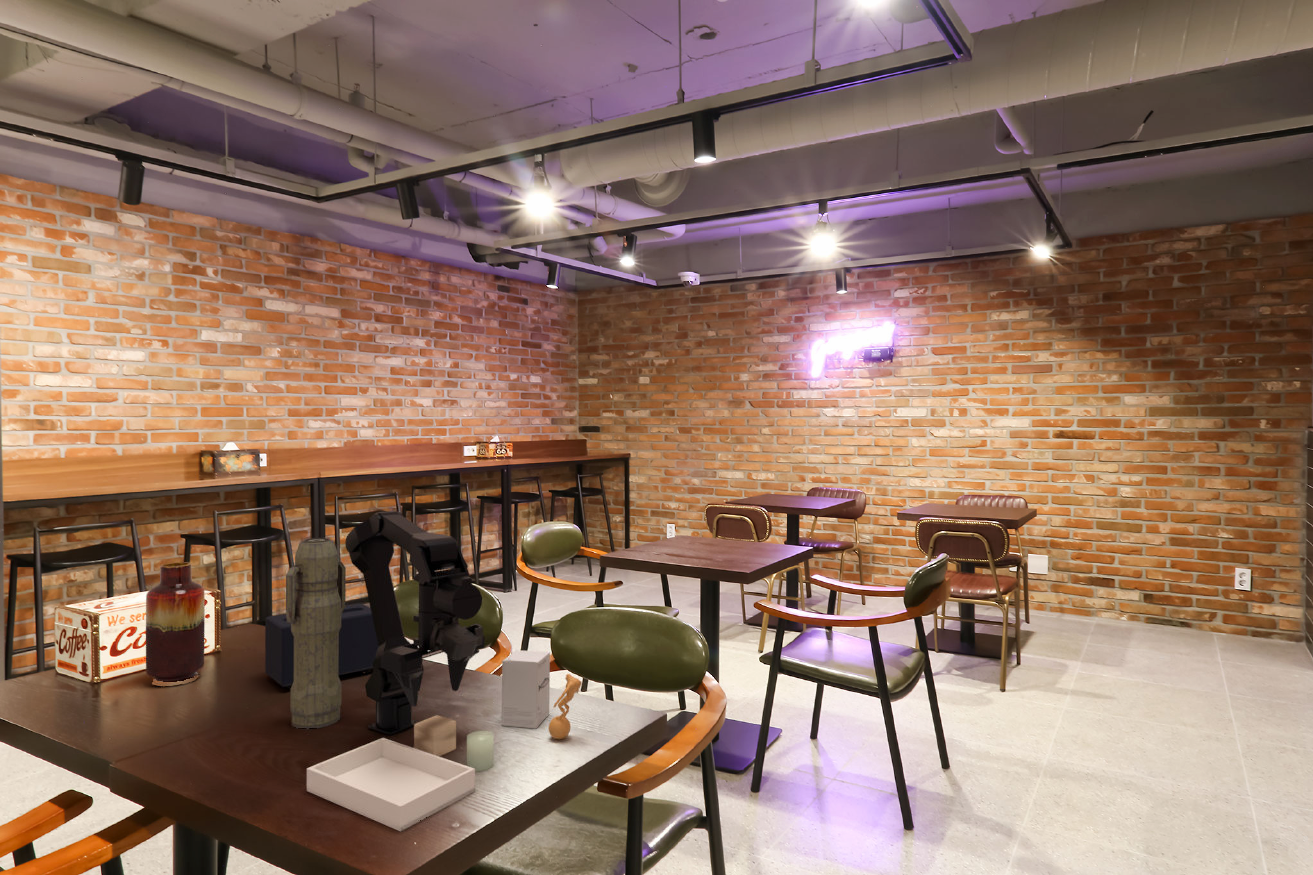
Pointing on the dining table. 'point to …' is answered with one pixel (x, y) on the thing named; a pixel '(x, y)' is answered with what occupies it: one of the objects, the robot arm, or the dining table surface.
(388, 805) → the bin
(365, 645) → the speaker
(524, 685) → the supplement box
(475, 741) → the green cylinder
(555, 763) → the dining table surface
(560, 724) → the figurine
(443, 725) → the beech cube
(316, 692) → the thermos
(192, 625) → the vase
